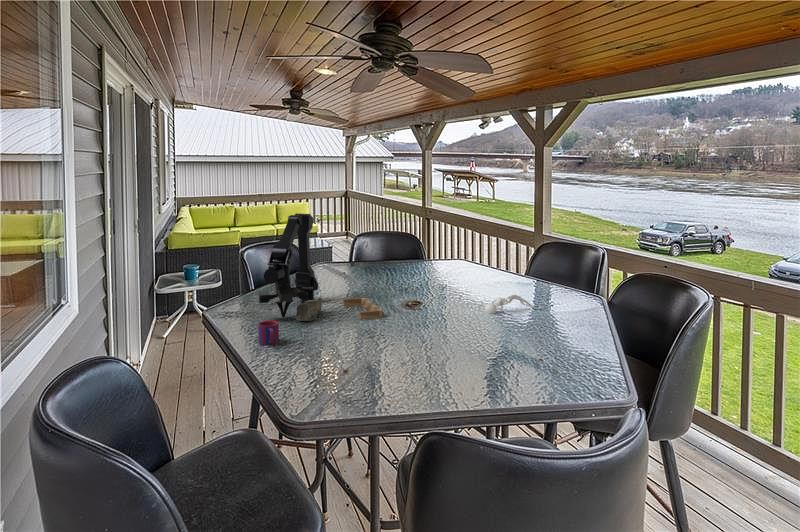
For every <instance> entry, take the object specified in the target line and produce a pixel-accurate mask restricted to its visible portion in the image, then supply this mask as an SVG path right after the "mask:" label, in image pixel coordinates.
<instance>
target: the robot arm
mask: <svg viewBox="0 0 800 532" xmlns="http://www.w3.org/2000/svg"><path fill="white" fill-rule="evenodd" d="M314 220H315V219H314V217H313V216H312V215H311V213H296V212H295V214H290V215H288V217H287V222H286V225H285V227H284V230H283V232H282V234H281V236H280V239H279V240H278V241H275V243H274V245H273V246H272V247H271V250H270V252H269V256H268V260H267V263H266V265H267V267H268V269H266V270H265V271H264V272H263V279H264V281H265V282H266V283H267V284H269V285H273V284H274V293H271V294H270V293H268V291H267V292H266V291H265V292H258V293H257V295H256V297H257V299H256V300H257V301H258V303H259V304H264V303H265V304H266V303H269V302H270V301H272V302H273V303H274V304H276V305H277V307H278V309H279V312H280V315H281V317H282V318H285V317H286V315H287V311H288V308H289V306H290V304H291V303H293V302H294V298H298V299H299V300H298V303H300V304H303V303H304V302H305V301H308V300H315V291H318V290H319V282H318V280H317V277H316V276H315V275H316V274H315V271H314V270H313V268H312V266H311V253H310V252H311V249H310V234H311V231H312V229H313V227H314V226H313V225H314ZM296 235H297V244H298V245H297V247H298V248H297V249H298V266H299V267H298V269H297V272H295V274H294V275H295V277H294V284H295V287H293V286H291V277H290V276H291V273H290V266H291V264H292V263H291V261H292V258H293V255H294V251H293V247H292V246H293V243H294V241H295V238H296Z"/></svg>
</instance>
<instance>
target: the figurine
mask: <svg viewBox="0 0 800 532" xmlns="http://www.w3.org/2000/svg"><path fill="white" fill-rule="evenodd" d="M513 300H517V301H519V302H520V304H522V305H523V306H524V307H526V306H525V305H528V306H529V307H530V308H532V309H534V310H535V309H537V310H540V309H541V308H542V306H541V305H540V306H538V307H534V306H533V305H532V304H530V302H529V301H528V300H526V299H525V298H524V297H521V296H520V295H517V294H511V295H509V296H507V297H503V298H502V297H501V296H499V297H497V298H496V299H494V300H493V301H492V302H489V303H487V304H486V305H485V307H484V308H485V309H484V310H485V312H486V313H487V314H488V313H489V314H488V315H494V314H495V313H497V309H498V308H497V306H498V307H499V308H500V310H501V312H505V310H504V307H503V306H504V305H508V304H511V303H512V301H513ZM493 313H494V314H493Z"/></svg>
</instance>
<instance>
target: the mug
mask: <svg viewBox="0 0 800 532" xmlns="http://www.w3.org/2000/svg"><path fill="white" fill-rule="evenodd" d="M279 328H280V327H279V321H277V320H262V321H260V322H258V324H257V329H258V331H257V337H258V338H257V339H258V344H259V345H260V346H264V345H270V346H274V344H275V345H277V344H279V342H280V335H279Z"/></svg>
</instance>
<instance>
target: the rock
mask: <svg viewBox="0 0 800 532" xmlns="http://www.w3.org/2000/svg"><path fill="white" fill-rule="evenodd" d="M322 304H323V303H322V298H321V297H318V298H317V299H314V300H308V301H305V302H304V303H303V304H301V303H300V304H298V305H297V306H296V314H295V315H294V318H295V319H296V321H298V322H309V321H313V320H316V319H317V317H318V314H319V313H320V312H322Z"/></svg>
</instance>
